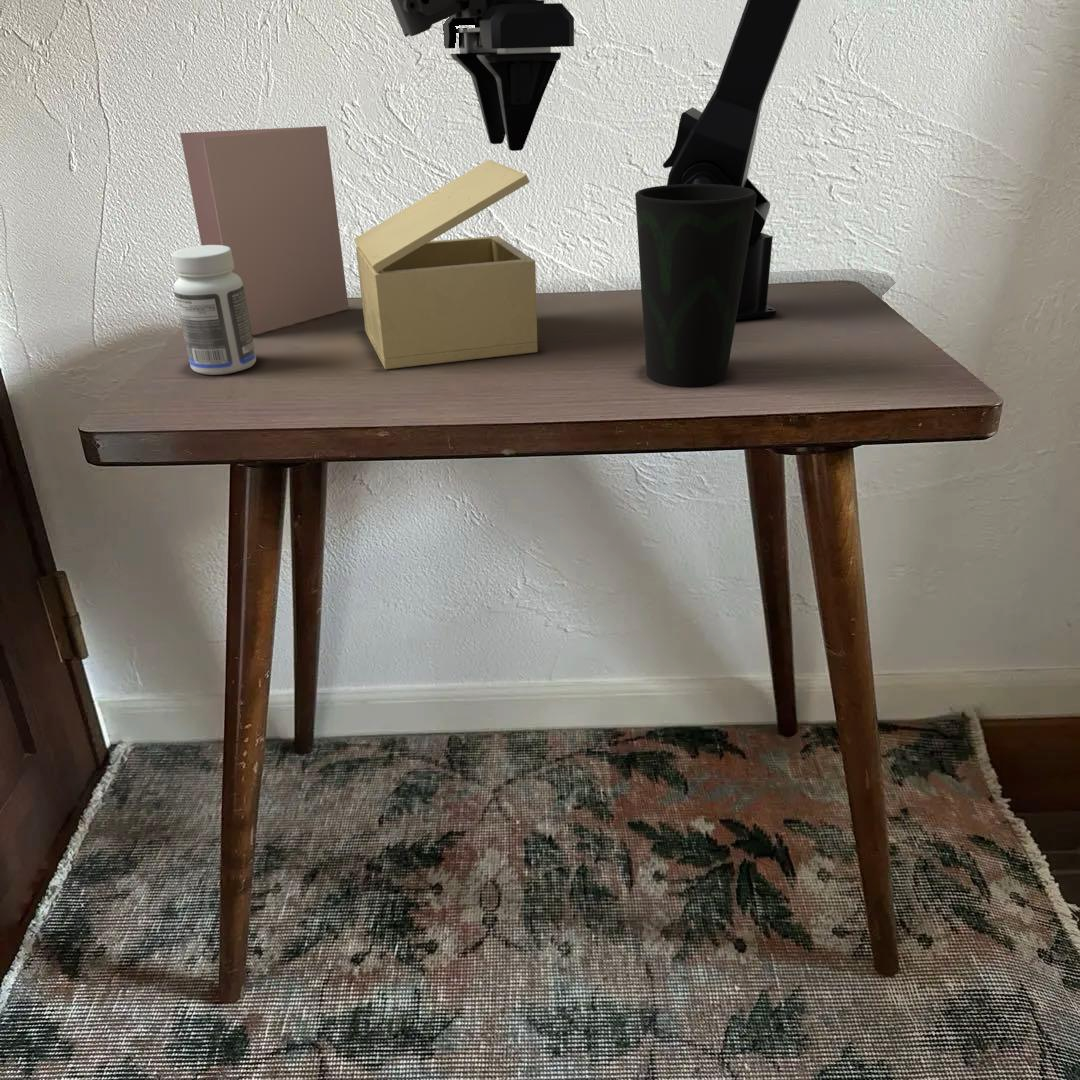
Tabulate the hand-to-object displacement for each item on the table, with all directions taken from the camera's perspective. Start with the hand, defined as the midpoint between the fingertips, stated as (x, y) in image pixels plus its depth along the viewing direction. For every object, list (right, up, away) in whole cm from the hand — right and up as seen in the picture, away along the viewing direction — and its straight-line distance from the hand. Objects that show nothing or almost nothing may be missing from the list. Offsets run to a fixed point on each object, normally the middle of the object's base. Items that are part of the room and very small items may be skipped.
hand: (505, 147), depth 78 cm
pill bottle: (-21, -20, -8) cm, 30 cm away
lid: (-5, -9, -9) cm, 13 cm away
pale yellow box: (-4, -17, -4) cm, 18 cm away
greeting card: (-19, -14, +2) cm, 24 cm away
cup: (+13, -21, -13) cm, 28 cm away
